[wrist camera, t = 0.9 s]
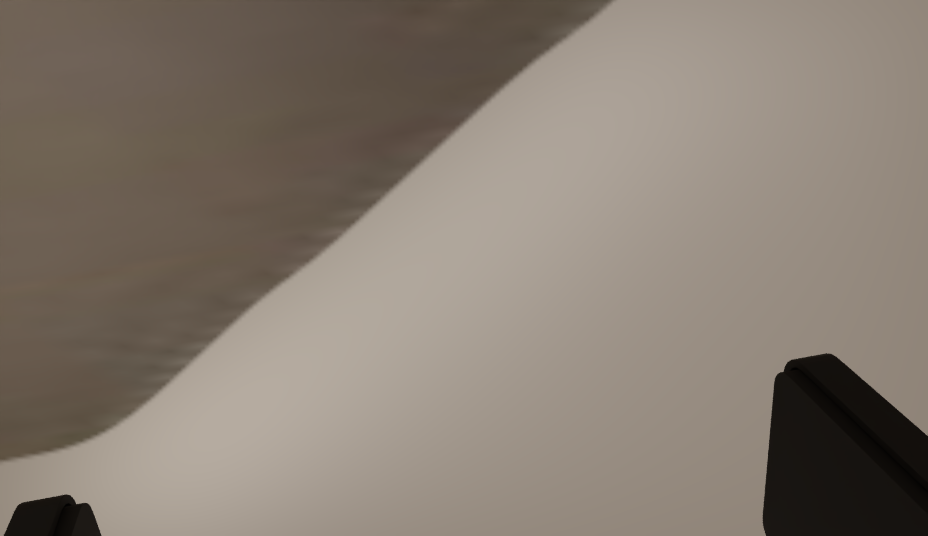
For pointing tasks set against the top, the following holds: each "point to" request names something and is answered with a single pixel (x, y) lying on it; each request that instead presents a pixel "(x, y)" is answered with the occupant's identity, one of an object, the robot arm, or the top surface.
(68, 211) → the top surface
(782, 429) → the robot arm
